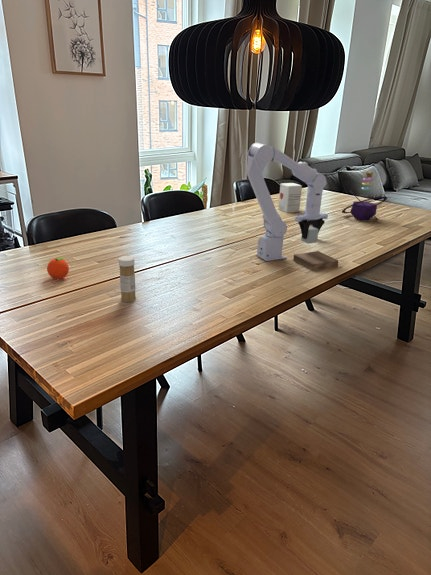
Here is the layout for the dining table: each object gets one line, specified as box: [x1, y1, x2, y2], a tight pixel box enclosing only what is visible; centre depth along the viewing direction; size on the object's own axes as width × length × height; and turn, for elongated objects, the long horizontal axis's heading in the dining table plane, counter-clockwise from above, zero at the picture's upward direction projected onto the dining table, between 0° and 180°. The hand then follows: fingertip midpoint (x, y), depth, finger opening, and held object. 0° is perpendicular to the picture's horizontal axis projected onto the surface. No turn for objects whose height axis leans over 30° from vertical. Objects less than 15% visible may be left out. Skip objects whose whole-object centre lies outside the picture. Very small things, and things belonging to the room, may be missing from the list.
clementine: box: [46, 257, 70, 280], centre depth 149 cm, size 8×7×7 cm
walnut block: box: [292, 250, 340, 272], centre depth 171 cm, size 12×12×3 cm
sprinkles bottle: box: [118, 255, 137, 303], centre depth 133 cm, size 5×5×13 cm
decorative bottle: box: [341, 171, 388, 222], centre depth 235 cm, size 22×21×25 cm
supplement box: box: [277, 182, 303, 214], centre depth 251 cm, size 9×9×15 cm
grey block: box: [300, 226, 319, 244], centre depth 178 cm, size 4×4×6 cm
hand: (309, 237), depth 178 cm, fingers closed on grey block, 4 cm apart
